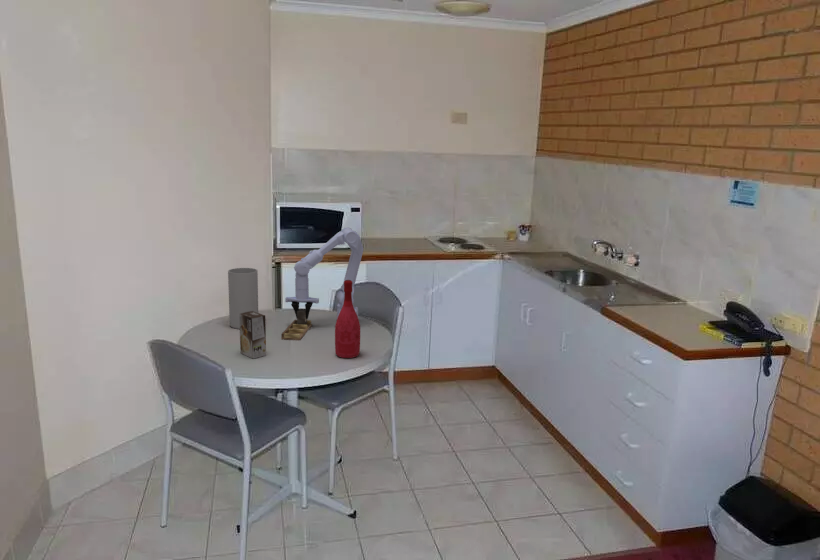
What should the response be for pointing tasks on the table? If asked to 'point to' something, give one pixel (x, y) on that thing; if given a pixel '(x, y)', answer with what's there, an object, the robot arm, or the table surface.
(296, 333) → the rack
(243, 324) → the coffee box
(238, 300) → the cylinder vase
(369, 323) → the table surface
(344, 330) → the wine bottle
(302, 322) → the black box
